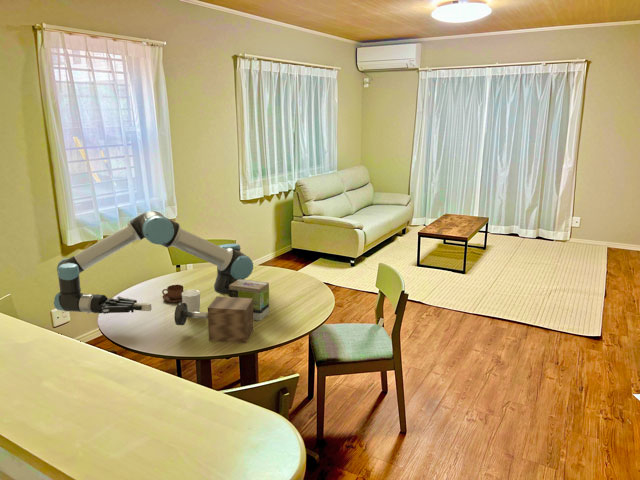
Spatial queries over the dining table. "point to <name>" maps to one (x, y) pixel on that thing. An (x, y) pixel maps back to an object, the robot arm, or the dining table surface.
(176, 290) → the cup and saucer
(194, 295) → the white cup
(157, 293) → the dining table surface
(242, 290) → the tea box
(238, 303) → the brown wooden open box
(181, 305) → the plunger
